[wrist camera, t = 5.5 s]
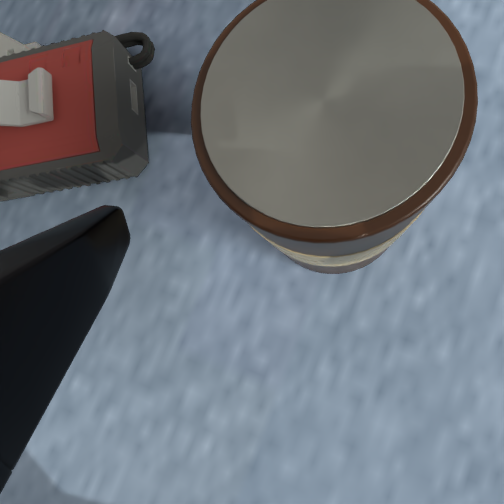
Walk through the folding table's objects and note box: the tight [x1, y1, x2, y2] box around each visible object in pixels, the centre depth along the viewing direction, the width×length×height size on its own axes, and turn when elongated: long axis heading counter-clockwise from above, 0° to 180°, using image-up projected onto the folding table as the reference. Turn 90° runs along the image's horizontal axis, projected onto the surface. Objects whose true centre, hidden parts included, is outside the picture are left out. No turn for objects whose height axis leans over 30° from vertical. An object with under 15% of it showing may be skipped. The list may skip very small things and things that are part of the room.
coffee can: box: [191, 0, 478, 274], centre depth 14 cm, size 6×6×11 cm
